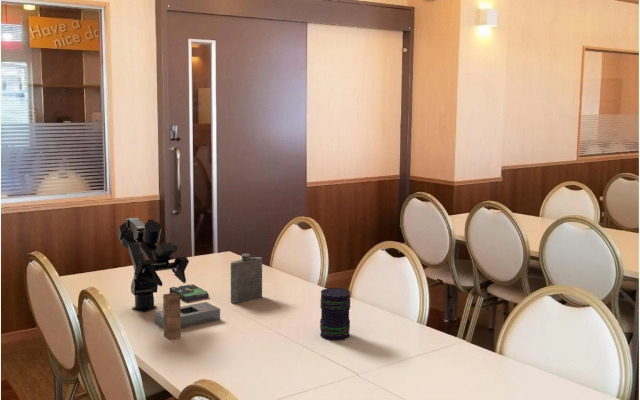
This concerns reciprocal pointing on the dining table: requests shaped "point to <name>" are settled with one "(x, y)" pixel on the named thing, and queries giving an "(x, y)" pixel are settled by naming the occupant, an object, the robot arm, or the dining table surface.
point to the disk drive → (190, 292)
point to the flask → (246, 279)
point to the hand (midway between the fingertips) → (173, 283)
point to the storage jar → (335, 314)
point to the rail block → (193, 315)
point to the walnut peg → (172, 315)
